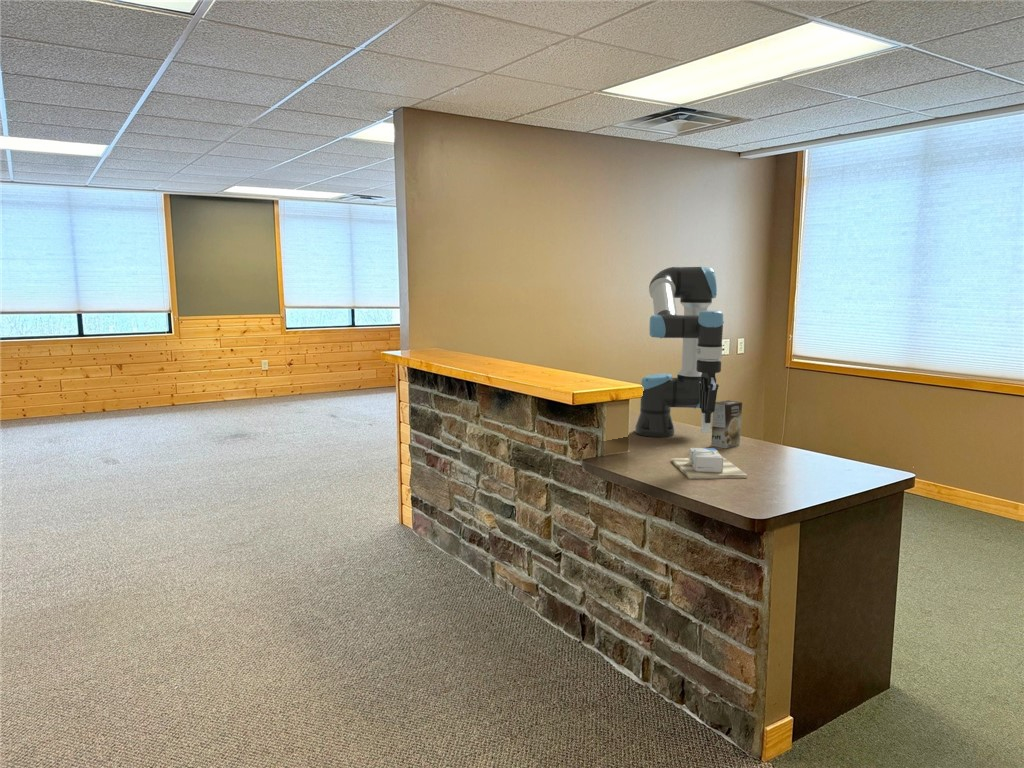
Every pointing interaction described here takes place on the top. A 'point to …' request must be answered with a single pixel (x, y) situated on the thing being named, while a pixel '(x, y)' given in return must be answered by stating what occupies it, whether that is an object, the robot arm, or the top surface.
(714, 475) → the cloth
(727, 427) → the coffee box
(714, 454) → the ink box
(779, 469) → the top surface
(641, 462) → the top surface
